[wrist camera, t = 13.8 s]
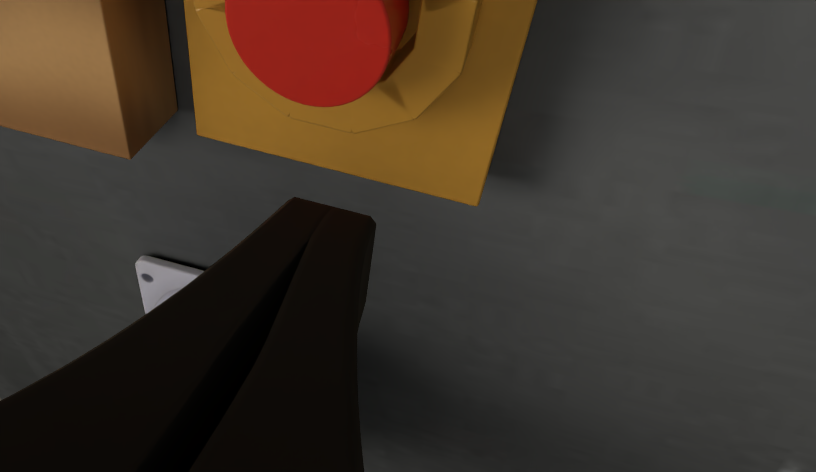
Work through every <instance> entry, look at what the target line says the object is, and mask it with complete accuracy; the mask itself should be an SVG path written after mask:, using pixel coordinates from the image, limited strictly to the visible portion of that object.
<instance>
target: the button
mask: <svg viewBox="0 0 816 472" xmlns="http://www.w3.org/2000/svg"><path fill="white" fill-rule="evenodd" d="M225 16H226V23H227V27H228V31H229V34H230V37H231V40H232V42H233V45H234V47H235V49H236V51H237V53H238V54H239V56H240V57H241V59H242V61H243V62H244V63H245V65H246V66H247V67H248V69H249V70H250V71H251V72H252V73H253V74H254V75H255V76H256V77H257V78H258V79H259V80H260V81H261V82H262V83H263V84H264V85H266V86H267V87H268V88H270V89H271V90H273V91H274V92H276V93H277V94H279V95H281V96H283V97H285V98H287V99H289V100H292V101H294V102H297V103H300V104H303V105H308V106H314V107H334V106H340V105H344V104H347V103H350V102H353V101H355V100H357V99H359V98H361V97H362V96H364V95H365V94H367V93H368V92H369V91H370V90H371V89H372V88H373V87H374V86H375V85H376V84H377V83H378V82H379V80H380V79H381V77H382V76H383V74H384V72H385V70H386V68H387V66H388V65H389V63H390V61H391V59H392V57H393V55H394V53H395V51H396V50H397V48H398V46H399V44H400V42H401V40H402V38H403V36H404V33H405V31H406V27H407V23H408V18H409V0H225Z"/></svg>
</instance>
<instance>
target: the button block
mask: <svg viewBox="0 0 816 472" xmlns="http://www.w3.org/2000/svg"><path fill="white" fill-rule="evenodd" d="M536 4H537V0H409V18H408V23H407V27H406V31H405V33H404V36H403V38H402V40H401V42H400V44H399V46H398V48H397V50H396V51H395V53H394V55H393V57H392V59H391V61H390V63H389V65H388V66H387V68H386V70H385V72H384V74H383V76H382V77H381V79H380V80H379V82H378V83H377V84H376V85H375V86H374V87H373V88H372V89H371V90H370V91H369V92H368V93H367V94H365V95H364V96H362V97H361V98H359V99H357V100H355V101H353V102H350V103H347V104H344V105H340V106H334V107H314V106H308V105H303V104H300V103H297V102H294V101H292V100H289V99H287V98H285V97H283V96H281V95H279V94H277V93H276V92H274V91H273V90H271V89H270V88H268V87H267V86H266V85H264V84H263V83H262V82H261V81H260V80H259V79H258V78H257V77H256V76H255V75H254V74H253V73H252V72H251V71H250V70H249V69H248V67H247V66H246V65H245V63H244V62H243V61H242V59H241V57H240V56H239V54H238V53H237V51H236V49H235V47H234V45H233V42H232V40H231V37H230V34H229V31H228V27H227V23H226V16H225V0H184V10H185V20H186V30H187V40H188V50H189V60H190V70H191V80H192V90H193V100H194V110H195V120H196V130H197V135H199V136H203V137H207V138H211V139H214V140H218V141H222V142H226V143H230V144H234V145H238V146H242V147H246V148H250V149H254V150H257V151H261V152H265V153H269V154H273V155H277V156H281V157H285V158H289V159H293V160H296V161H300V162H304V163H308V164H312V165H316V166H320V167H324V168H328V169H332V170H336V171H339V172H343V173H347V174H351V175H355V176H359V177H363V178H367V179H371V180H375V181H379V182H382V183H386V184H390V185H394V186H398V187H402V188H406V189H410V190H414V191H418V192H421V193H425V194H429V195H433V196H437V197H441V198H445V199H449V200H453V201H457V202H461V203H464V204H468V205H472V206H478V205H479V203H480V199H481V196H482V192H483V189H484V185H485V182H486V178H487V175H488V171H489V168H490V164H491V161H492V157H493V154H494V150H495V147H496V143H497V140H498V136H499V133H500V129H501V126H502V122H503V119H504V115H505V112H506V108H507V105H508V101H509V98H510V95H511V91H512V88H513V84H514V81H515V77H516V74H517V70H518V67H519V63H520V60H521V56H522V53H523V49H524V46H525V42H526V39H527V35H528V32H529V28H530V25H531V21H532V18H533V14H534V11H535V7H536Z"/></svg>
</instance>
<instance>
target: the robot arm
mask: <svg viewBox="0 0 816 472" xmlns="http://www.w3.org/2000/svg"><path fill="white" fill-rule="evenodd" d="M375 230H376V223H375V222H374V220H373V219H372V218H371V216H367V215H363V214H360V213H356V212H352V211H348V210H344V209H340V208H336V207H332V206H328V205H324V204H320V203H316V202H312V201H308V200H304V199H300V198H296V197H294V198H292V199H290V200H288V201H287V202H286V203H285V204H284V205H283V206H281V207H280V208H279V209H278V210H277V211H276V212H275V213H274V214H273V215H271V216H270V217H269V218H268V219H267V220H266V221H265V222H264V223H262V224H261V225H260V226H259V227H258V228H257V229H255V230H254V231H253V232H252V233H251V234H250V235H248V236H247V237H246V238H245V239H244V240H243V241H241V242H240V243H239V244H238V245H237V246H235V247H234V248H233V249H232V250H231V251H229V252H228V253H227V254H226V255H224V256H223V257H222V258H221V259H219V260H218V261H217V262H216V263H214V264H213V265H212V266H210V267H209V268H208V269H207V270H205V271H203V270H199V269H195V268H192V267H188V266H184V265H181V264H177V263H173V262H170V261H166V260H162V259H159V258H155V257H151V256H145V255H144V256H141V257H140V258H139V259H138V261H137V262H136V263H135V267H136V272H137V276H138V281H139V286H140V290H141V295H142V300H143V304H144V309H145V313H146V315H144V316H143V317H141V318H140V319H138V320H137V321H135V322H134V323H133V324H131V325H129V326H128V327H126V328H125V329H123V330H122V331H120V332H119V333H117V334H116V335H114V336H113V337H111V338H109V339H108V340H106V341H105V342H103V343H102V344H100V345H98V346H97V347H95V348H93V349H92V350H90V351H88V352H87V353H85V354H84V355H82V356H80V357H79V358H77V359H75V360H74V361H72V362H70V363H69V364H67V365H65V366H63V367H62V368H60V369H58V370H56V371H54V372H53V373H51V374H49V375H47V376H45V377H44V378H42V379H40V380H38V381H36V382H35V383H33V384H31V385H29V386H27V387H25V388H24V389H22V390H20V391H18V392H16V393H15V394H13V395H11V396H9V397H7V398H5V399H3V400H1V401H0V472H364V466H363V456H362V446H361V433H360V421H359V405H358V381H357V332H358V327H359V323H360V320H361V316H362V313H363V309H364V306H365V302H366V296H367V289H368V281H369V274H370V267H371V259H372V252H373V245H374V237H375Z"/></svg>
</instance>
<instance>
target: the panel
mask: <svg viewBox="0 0 816 472" xmlns="http://www.w3.org/2000/svg"><path fill="white" fill-rule="evenodd" d="M177 110H178V108H177V100H176V92H175V84H174V75H173V67H172V59H171V50H170V42H169V34H168V26H167V17H166V9H165V1H164V0H0V126H3V127H7V128H11V129H14V130H18V131H22V132H26V133H30V134H34V135H37V136H41V137H45V138H49V139H53V140H57V141H60V142H64V143H68V144H72V145H76V146H80V147H83V148H87V149H91V150H95V151H99V152H103V153H106V154H110V155H114V156H118V157H122V158H126V159H132V158H133V157H134V156H135V154H136V153H137V152H138V151H139V150H140V149H141V148H142V147H143V146H144V145H145V144H146V143H147V142H148V141H149V140H150V139H151V138H152V137H153V136H154V135H155V134H156V132H157V131H158V130H159V129H160V128H161V127H162V126H163V125H164V124H165V123H166V122H167V121H168V120H169V119H170V118H171V117H172V116H173V115H174V114H175V113H176V112H177Z"/></svg>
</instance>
